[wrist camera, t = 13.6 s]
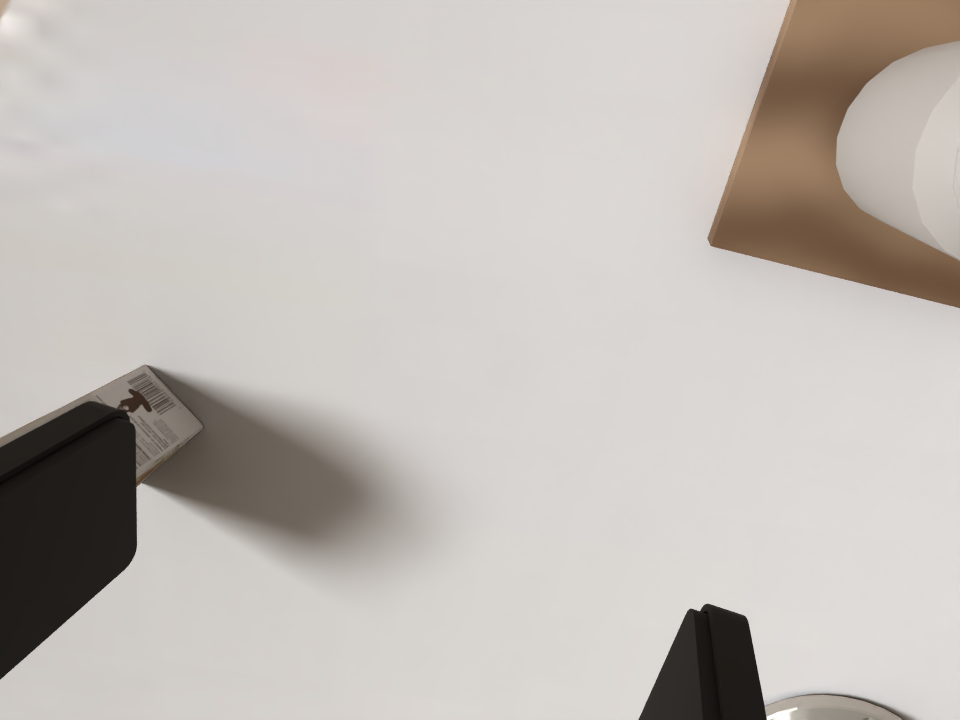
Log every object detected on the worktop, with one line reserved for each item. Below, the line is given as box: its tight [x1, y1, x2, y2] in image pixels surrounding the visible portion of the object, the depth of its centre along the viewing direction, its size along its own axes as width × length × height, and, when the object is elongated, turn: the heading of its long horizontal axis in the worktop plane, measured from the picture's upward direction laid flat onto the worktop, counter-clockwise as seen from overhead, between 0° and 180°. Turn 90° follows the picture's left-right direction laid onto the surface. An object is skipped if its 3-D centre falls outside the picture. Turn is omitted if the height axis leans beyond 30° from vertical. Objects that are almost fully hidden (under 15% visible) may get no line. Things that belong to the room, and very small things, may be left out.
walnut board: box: [708, 0, 960, 308], centre depth 30 cm, size 14×14×2 cm
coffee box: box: [0, 365, 203, 487], centre depth 41 cm, size 9×6×16 cm
